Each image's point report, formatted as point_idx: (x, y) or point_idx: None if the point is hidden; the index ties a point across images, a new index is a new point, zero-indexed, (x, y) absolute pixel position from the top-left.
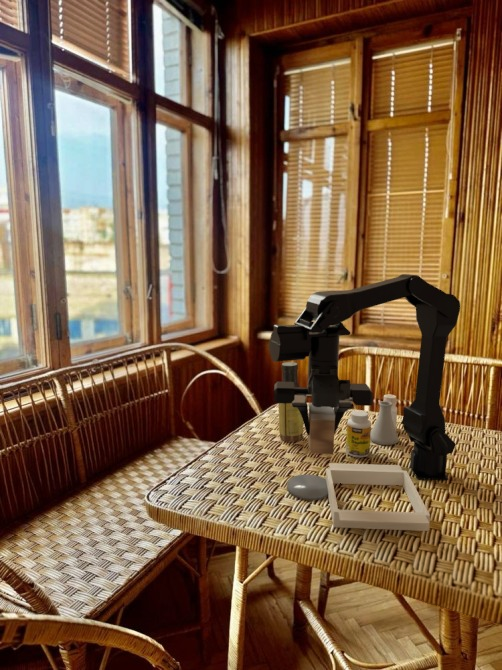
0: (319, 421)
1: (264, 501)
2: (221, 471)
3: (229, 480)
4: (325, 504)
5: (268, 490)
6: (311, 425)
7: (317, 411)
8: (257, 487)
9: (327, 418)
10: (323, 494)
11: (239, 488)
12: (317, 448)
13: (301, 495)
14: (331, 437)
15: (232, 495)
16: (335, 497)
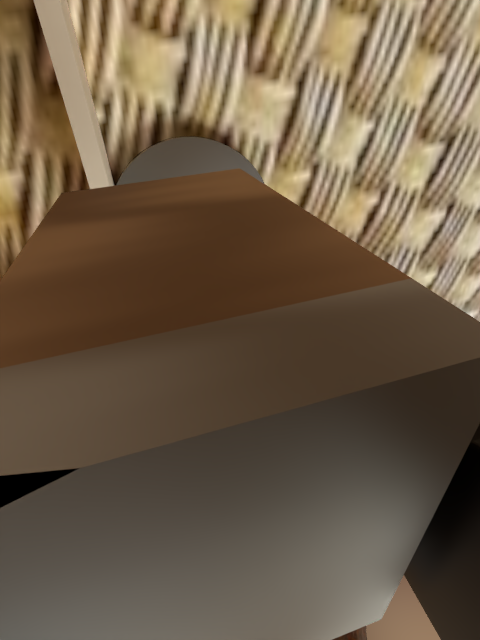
0: (257, 296)
1: (343, 98)
2: (442, 266)
3: (430, 221)
4: (113, 111)
5: (326, 183)
6: (345, 246)
7: (344, 500)
8: (358, 196)
9: (102, 373)
10: (130, 164)
11: (410, 178)
12: (193, 185)
13: (217, 142)
14: (60, 236)
15: (437, 125)
16: (43, 27)
